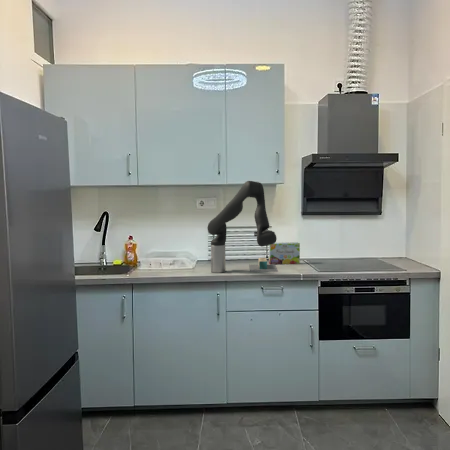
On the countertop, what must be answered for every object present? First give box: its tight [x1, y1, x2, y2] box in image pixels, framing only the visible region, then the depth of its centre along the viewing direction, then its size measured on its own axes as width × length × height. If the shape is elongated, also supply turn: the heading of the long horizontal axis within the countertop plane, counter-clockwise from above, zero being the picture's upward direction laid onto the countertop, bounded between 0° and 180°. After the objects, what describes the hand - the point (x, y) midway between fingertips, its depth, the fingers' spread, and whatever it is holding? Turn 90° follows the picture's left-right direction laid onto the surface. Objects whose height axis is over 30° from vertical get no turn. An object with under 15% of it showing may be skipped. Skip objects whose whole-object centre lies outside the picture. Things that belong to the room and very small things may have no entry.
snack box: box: [268, 241, 301, 265], centre depth 303 cm, size 21×6×15 cm, turn 94°
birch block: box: [258, 257, 268, 269], centre depth 287 cm, size 5×5×16 cm
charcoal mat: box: [248, 263, 279, 273], centre depth 283 cm, size 18×28×1 cm, turn 177°
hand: (263, 232), depth 264 cm, fingers closed
